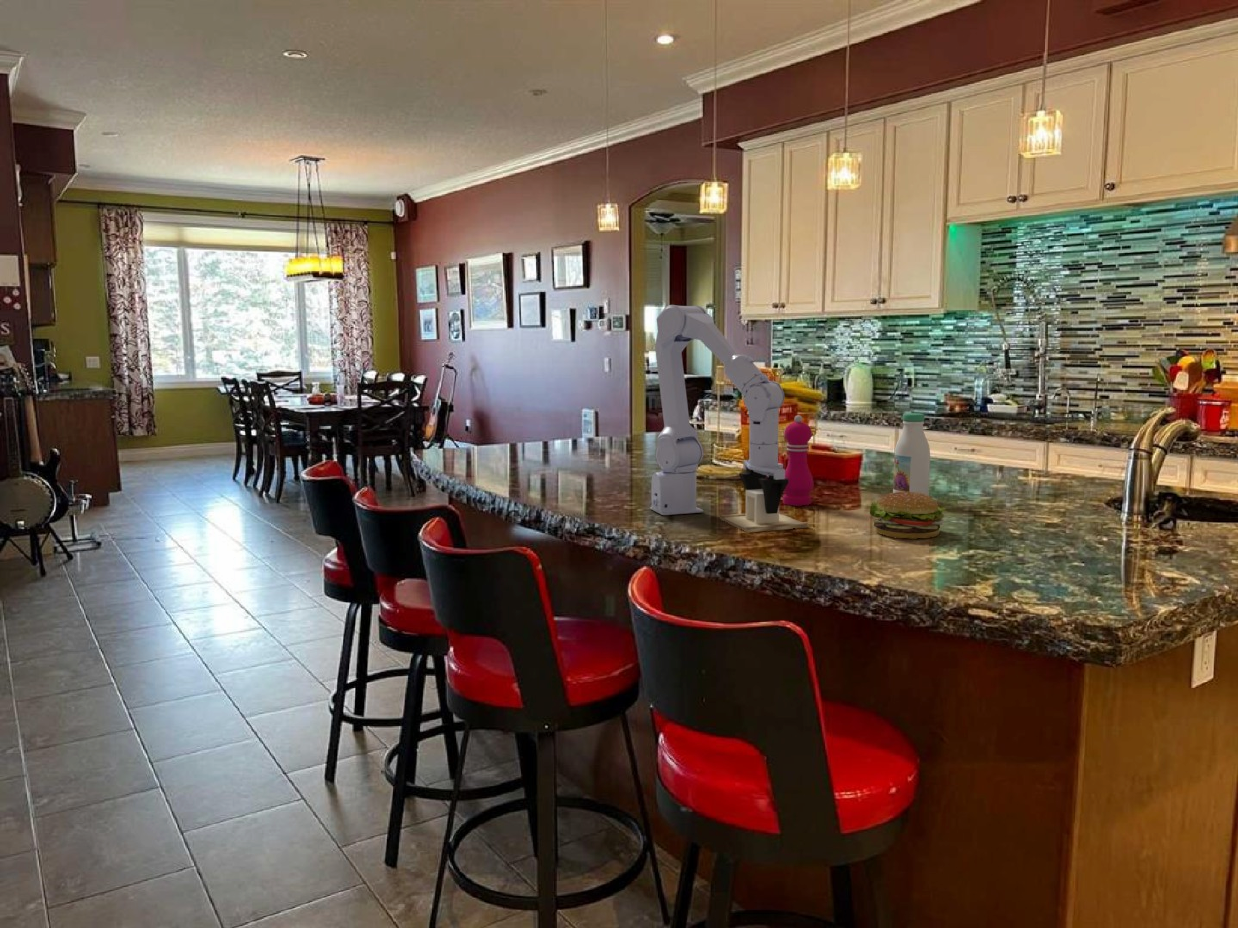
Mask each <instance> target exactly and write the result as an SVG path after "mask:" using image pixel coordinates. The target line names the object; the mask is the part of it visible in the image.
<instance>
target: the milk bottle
mask: <svg viewBox="0 0 1238 928" xmlns="http://www.w3.org/2000/svg"><path fill="white" fill-rule="evenodd" d="M902 424H903V428H902V431H901V434H900V436H899V438H898V440H897V442H896V445H895V449H894V457H893V458H894V459H893V479H892V481H893V484H892V486H893V487H892V489H893V490H892V493H895V492H905V491H906V492H917V493H921V494H925V495H928V496H930V478H931V476H930V475H931V474H930V472H931V470H930V469H931V449H930V448H931V447H930V445H929V441H928V439H927V437H926V435H925V434H926V433H925V431H924V424H925V414H923V413H918V412H909V413H908V412H906V413H903V414H902Z"/></svg>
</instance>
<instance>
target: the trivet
mask: <svg viewBox="0 0 1238 928" xmlns="http://www.w3.org/2000/svg"><path fill="white" fill-rule="evenodd" d="M719 519H721V520H720V521H723V522H724V521H726V522H728V523H727V524H729V525H731V526H733V527H735V528H737V529H739V528H740V529H739V530H741V529H742V531H743V530H744V532H746V533H756V532H757V533H758V532H769V531H782V530H783V531H784V530H791V529H792V530H793V528H795V529H805V528H808V522H806V521H804V522H803V521H800V520H797V519H794V518H792V517H789V516H787V515H784V514H783V513H780V512H779V522H773V523H761V524H755V523H754V519H753V520H746V519H745V513H734V514H722V515H721V514H720V517H719ZM726 522H725V523H726Z"/></svg>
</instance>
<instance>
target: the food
mask: <svg viewBox="0 0 1238 928" xmlns="http://www.w3.org/2000/svg"><path fill="white" fill-rule="evenodd" d="M944 512H945V513H946V512H947V508H945V507H944V506H940V505H939V504H938V502H937V500H935V498H932V497H931V496H930V495H929V496H928V495H925V494H921V493H917V492H906V491H905V492H895V493H893V492H891V493H888V494H886V495H884V496H882V497H881V498H880V499H879V500H878V502H874V501H873V502H871V503H870V509H869V515H870V516H872V517H874V518H875V519H873V526H874V529H875V532H876V533H878V534H880V535H882V534H883V535H882V536H884V535H886V536H885V537H888V536H890V537H889V538H893V537H896V538H895V539H901V538H909V539H908V540H918V539H917V538H926V539H931V538H930V537H932V538H935V537H937V536H939V533H940V530H941V526H942V524H943V523H944V521H943V518H945V514H943V513H944Z"/></svg>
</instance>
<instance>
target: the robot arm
mask: <svg viewBox="0 0 1238 928" xmlns="http://www.w3.org/2000/svg"><path fill="white" fill-rule="evenodd" d="M656 326H657V333H656V339H655V343H654V347H655V349H654V350H655V359H656V366H657V368H656V369H657V375H658V385H659V393H660V402H661V408H662V409H661V411H662V418H663V425H664V426H663V429H662V430H661V431H660V433H659V434H658V436H656V437H657V438H656V441H657V447H656V452H655V459H656V463H657V464H658V466H659V468H661V469H660V470H661V471H659V472H657V471H656V472H654V473H653V474H652V477H651V481H650V483H651V486H650V487H651V488H650V489H651V495H650V496H651V499H650V501H651V506H650V510H652V511H654V512H656V513H658V514H659V515H662V516H670V515H683V514H696V513H697V514H698V513H704V509H702V508H699V507H697V470H698V468H699V464H700V463H701V462H702V460H703V459H704V458H703V457H704V448H703V446H702V444H701V442H700V440H699V435H698V434H699V433H698V432H697V430H696V429H695V428H694V427H693V426H692V425H691V424H690V415H689V407H688V397H687V390H686V381H685V371H684V364H683V355H682V352H683V351H684V350H685V348H686V347H687V346H688V345H689V343H691V342H692V341H694V340H698V341H700V342H701V343H702V344H703V345H704V346H705V347H706V348H707V349H708V350H709V351H710V352H711V353H712V354H713V355H714V356H715V357H716V358H717V359H718V361H720V362H721V363H722V364H723V365H724V375H725V376H726V378H728V379H729V380H730V382H731V383H732V384H733V385H734V386H735V387H736V389H737V390H738V391H739V392H740V393H741V394H742V396H743V404H744V407H745V408H746V409H747V411H748V419H749V433H748V434H749V435H748V436H749V438H748V439H749V440H748V441H749V449H748V451H749V454H748V455H749V458H748V460H747V459H744V460H743V471H745V472H743V471H742V472H739V473H738V474H739V475H738V476H739V477H740V480H741V481H742V483H743V487H744V489H745V491H746V490H755V489H763V493H764V500H765V510H766V513H767V514H773V513H777V511H778V508H779V509H780V503H781V501H782V500H781V499H782V498H783V495H784V493H785V491H784V490H785V488H786V486H787V485H788V483H789V479H786V478H785V470H786V469H785V468H784V463H781V462H780V463H779V423H780V422H779V418H780V415H779V413H780V409H781V407H782V405H783V404H784V402H785V392H784V389H783V388H782V386H781V385H780V383H779V382H777V381H772V380H769V379H770V378H769V376H768V375H767V374H764V373H763V372H762V370H760V369H759V368H758V366H756V365H755V363H754V362H755V359H754V358H753V357H752V356H748V355H746V354H738V352H737V351H736V350H735V349H734V347H733V346H732V345H731V343H730V342H729V341H728V339H726V337H725V336H724V335H723V333H722V332H721V331H720V329H719V328H718V327H717V326H716V324H715V322H714V319H713V317H712V316H711V315H710V314H709V313H707V311H706V309H705V308H704V307H702V306H700V305H675V304H669V305H666V306H665V307H664V308H663V309H662V311H661V312H660V313H659V314H658V316H657V317H656ZM678 439H679V440H678Z"/></svg>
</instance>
